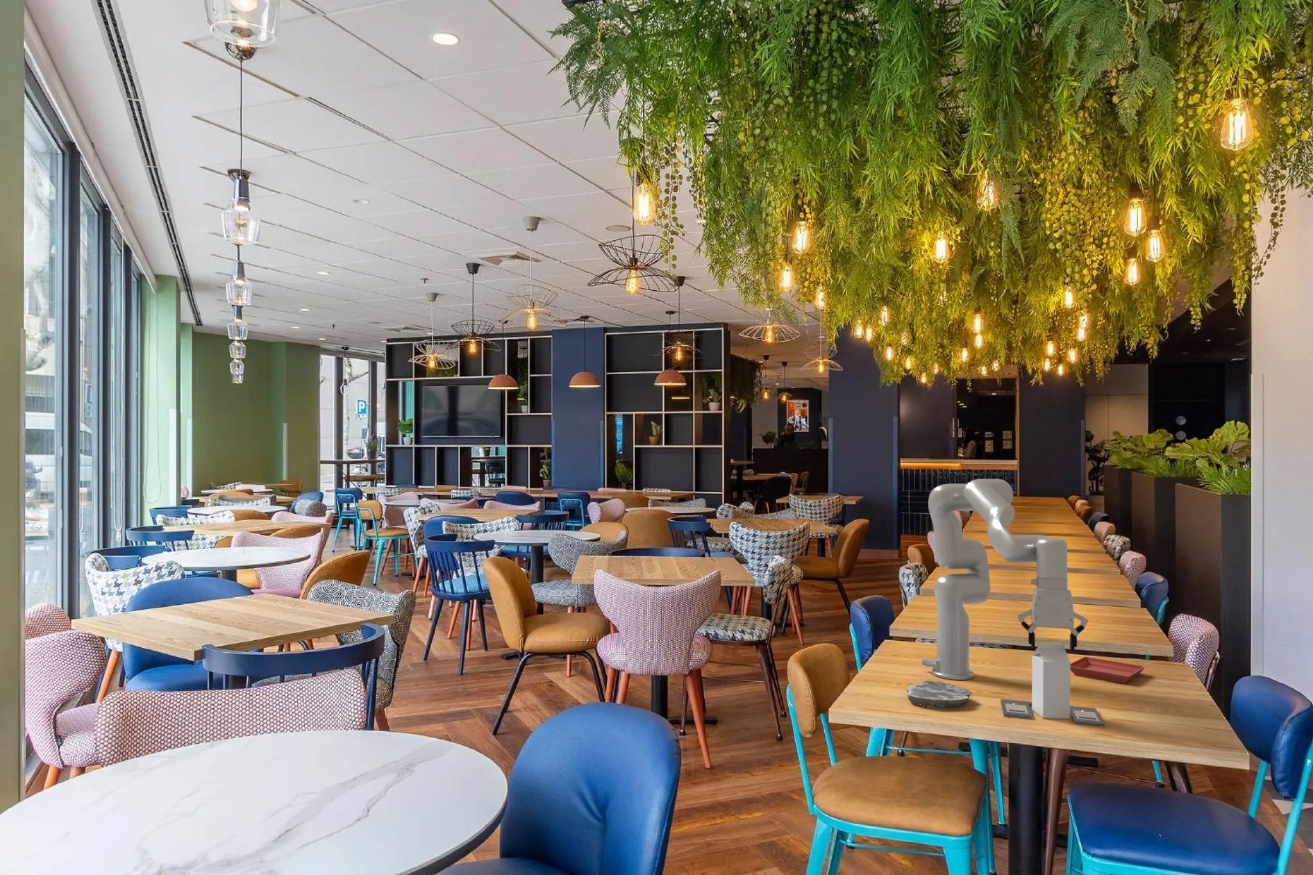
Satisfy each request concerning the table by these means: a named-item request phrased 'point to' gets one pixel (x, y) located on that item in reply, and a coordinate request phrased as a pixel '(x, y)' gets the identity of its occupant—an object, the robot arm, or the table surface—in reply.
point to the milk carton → (1051, 681)
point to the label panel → (1077, 713)
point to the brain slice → (937, 694)
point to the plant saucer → (1105, 669)
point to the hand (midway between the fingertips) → (1052, 648)
